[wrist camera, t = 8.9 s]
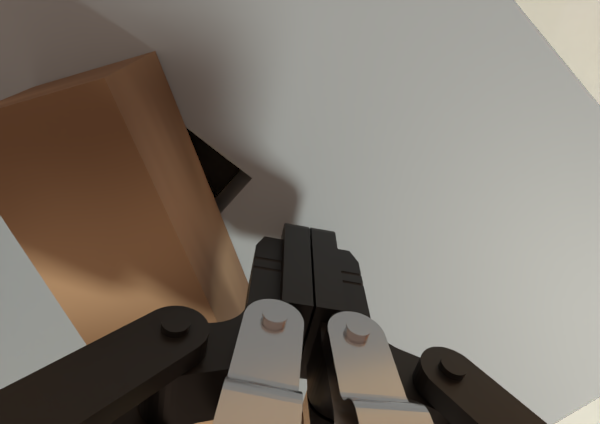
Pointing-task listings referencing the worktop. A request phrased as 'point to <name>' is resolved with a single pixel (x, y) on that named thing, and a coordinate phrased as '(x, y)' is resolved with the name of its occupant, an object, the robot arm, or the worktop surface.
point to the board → (366, 165)
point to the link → (115, 200)
